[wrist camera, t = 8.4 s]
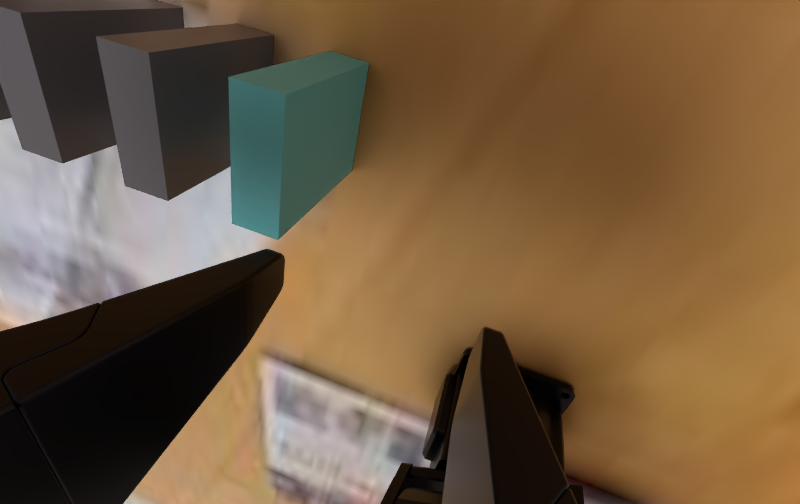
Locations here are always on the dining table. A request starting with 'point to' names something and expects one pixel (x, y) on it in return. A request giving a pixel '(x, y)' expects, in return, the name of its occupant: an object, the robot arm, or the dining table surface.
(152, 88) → the domino
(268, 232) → the domino
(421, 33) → the dining table surface
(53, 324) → the robot arm
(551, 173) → the dining table surface
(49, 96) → the domino
